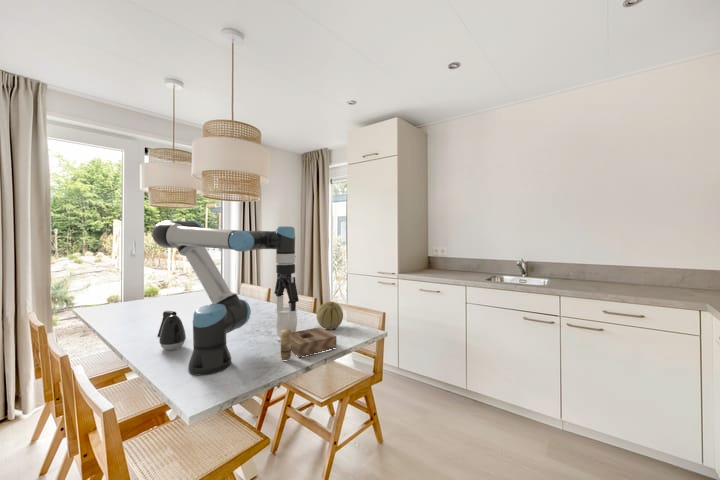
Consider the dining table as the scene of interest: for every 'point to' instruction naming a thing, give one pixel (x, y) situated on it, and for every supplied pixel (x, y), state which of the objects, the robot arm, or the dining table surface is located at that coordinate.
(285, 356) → the peg
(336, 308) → the cantaloupe
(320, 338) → the wooden block with hole
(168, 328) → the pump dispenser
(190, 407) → the dining table surface
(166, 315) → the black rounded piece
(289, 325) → the jar
